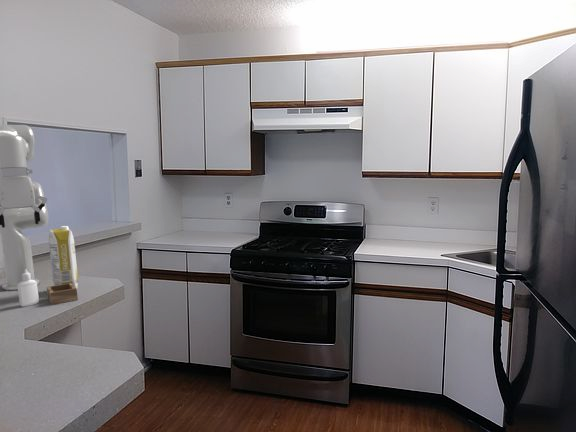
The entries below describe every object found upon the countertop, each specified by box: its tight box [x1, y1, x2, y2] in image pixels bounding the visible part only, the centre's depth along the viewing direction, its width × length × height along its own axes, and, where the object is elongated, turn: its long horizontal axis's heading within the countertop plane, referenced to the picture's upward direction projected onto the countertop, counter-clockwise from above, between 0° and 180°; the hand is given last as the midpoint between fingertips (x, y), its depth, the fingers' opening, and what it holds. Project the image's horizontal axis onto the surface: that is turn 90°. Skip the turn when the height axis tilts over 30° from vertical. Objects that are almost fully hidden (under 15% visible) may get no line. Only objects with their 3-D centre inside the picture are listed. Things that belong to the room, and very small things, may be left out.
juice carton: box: [48, 225, 79, 289], centre depth 169 cm, size 9×8×24 cm
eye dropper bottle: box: [17, 269, 40, 308], centre depth 155 cm, size 4×6×12 cm
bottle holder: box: [46, 283, 79, 306], centre depth 160 cm, size 10×8×4 cm
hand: (20, 225), depth 152 cm, fingers open, 9 cm apart
